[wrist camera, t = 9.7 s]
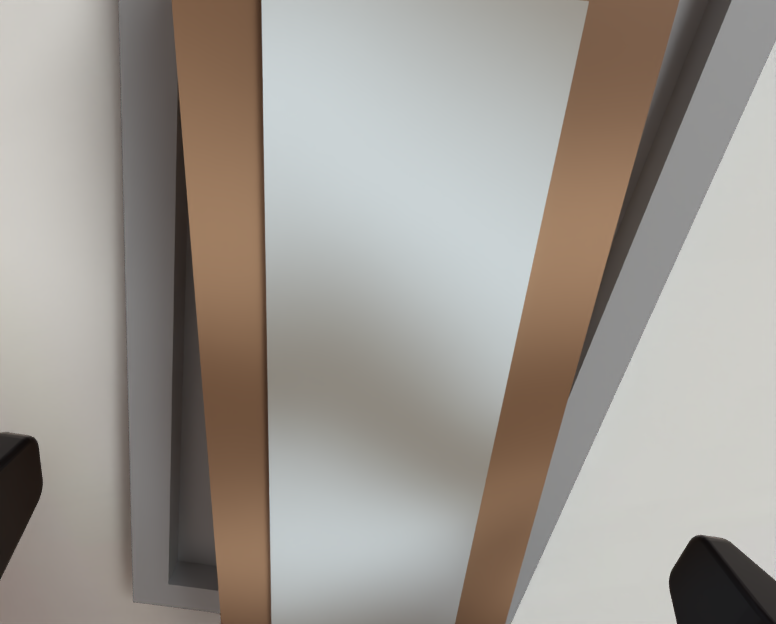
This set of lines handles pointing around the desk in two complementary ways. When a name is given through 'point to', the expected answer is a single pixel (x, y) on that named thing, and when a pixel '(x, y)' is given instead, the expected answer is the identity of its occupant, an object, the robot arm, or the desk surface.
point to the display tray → (177, 294)
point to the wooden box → (397, 282)
